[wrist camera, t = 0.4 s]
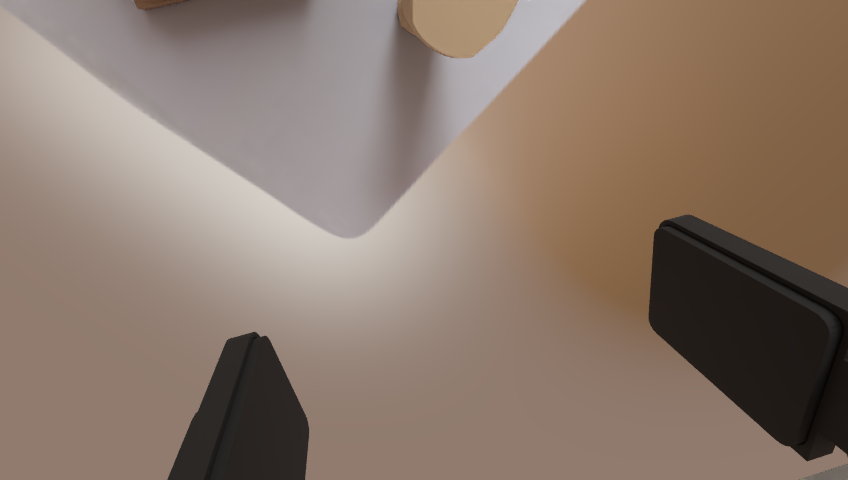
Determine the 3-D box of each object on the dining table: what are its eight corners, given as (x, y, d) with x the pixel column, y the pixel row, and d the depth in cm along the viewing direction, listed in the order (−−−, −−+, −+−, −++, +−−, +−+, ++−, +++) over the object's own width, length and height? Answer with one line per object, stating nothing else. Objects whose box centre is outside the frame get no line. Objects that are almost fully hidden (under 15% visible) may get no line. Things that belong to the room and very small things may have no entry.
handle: (462, -14, 31) (550, -64, 18) (425, 66, 33) (480, 75, 20) (407, -50, 30) (458, -134, 16) (371, 36, 32) (392, 24, 18)
